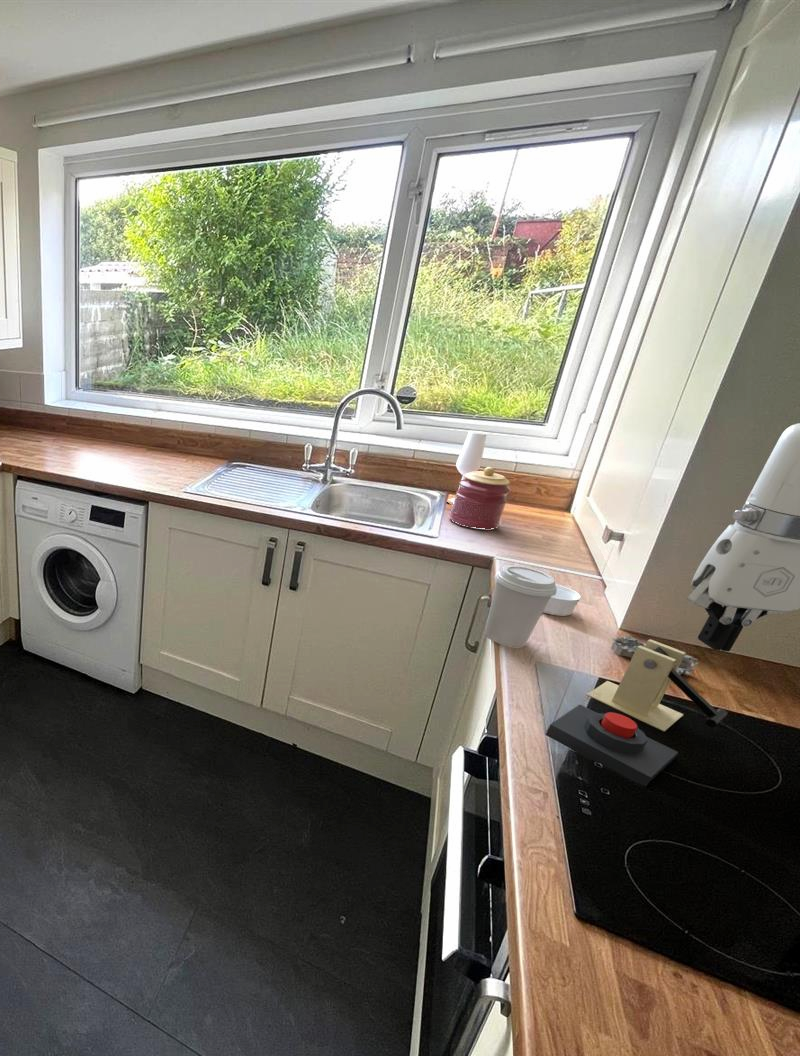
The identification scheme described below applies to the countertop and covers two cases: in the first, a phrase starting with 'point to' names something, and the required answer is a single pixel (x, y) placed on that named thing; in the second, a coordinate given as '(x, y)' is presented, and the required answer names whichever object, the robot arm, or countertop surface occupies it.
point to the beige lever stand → (644, 686)
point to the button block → (611, 745)
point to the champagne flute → (471, 454)
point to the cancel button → (619, 725)
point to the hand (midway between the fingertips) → (712, 645)
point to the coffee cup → (517, 604)
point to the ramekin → (562, 601)
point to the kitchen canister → (480, 499)
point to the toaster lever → (696, 697)
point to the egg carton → (630, 645)
